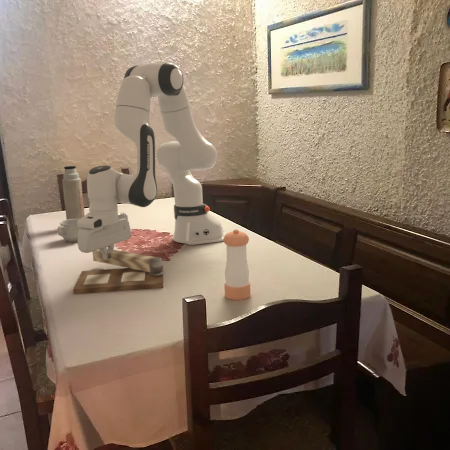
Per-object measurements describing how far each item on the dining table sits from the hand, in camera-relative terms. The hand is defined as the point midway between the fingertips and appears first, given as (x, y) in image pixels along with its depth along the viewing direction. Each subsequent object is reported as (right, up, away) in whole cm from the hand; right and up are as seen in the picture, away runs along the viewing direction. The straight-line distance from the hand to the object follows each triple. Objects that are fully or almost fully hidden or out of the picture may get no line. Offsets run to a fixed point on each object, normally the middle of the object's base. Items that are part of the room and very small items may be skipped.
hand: (107, 258), depth 157 cm
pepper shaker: (+42, -9, -20) cm, 47 cm away
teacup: (-24, +4, +41) cm, 48 cm away
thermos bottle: (-29, +9, +61) cm, 69 cm away
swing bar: (+6, -2, 0) cm, 7 cm away
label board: (+6, -7, -7) cm, 11 cm away
